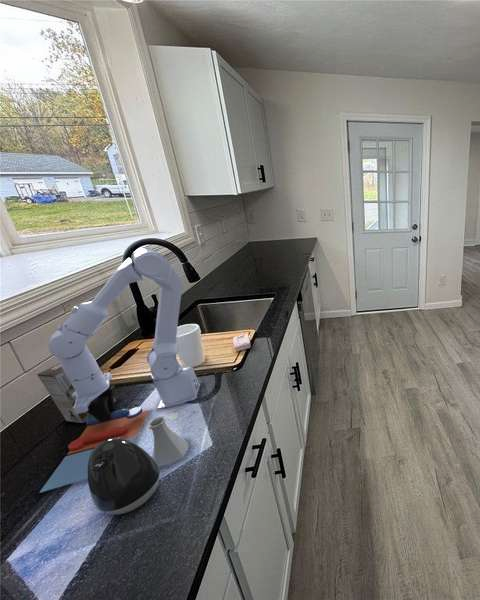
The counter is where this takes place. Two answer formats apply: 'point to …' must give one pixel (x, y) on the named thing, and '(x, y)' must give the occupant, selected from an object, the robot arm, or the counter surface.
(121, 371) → the counter surface
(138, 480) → the black rounded cone
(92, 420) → the blue spoon
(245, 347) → the soap bar
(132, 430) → the terracotta mat
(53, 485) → the blue mat
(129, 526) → the counter surface
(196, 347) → the foam cup
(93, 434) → the red spoon
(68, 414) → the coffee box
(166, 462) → the flask
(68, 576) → the counter surface
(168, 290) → the robot arm
